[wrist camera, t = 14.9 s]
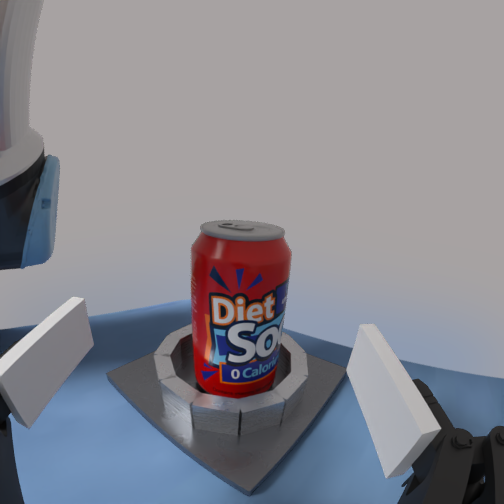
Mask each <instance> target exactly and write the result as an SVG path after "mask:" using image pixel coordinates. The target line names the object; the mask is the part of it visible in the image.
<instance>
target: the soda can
mask: <svg viewBox="0 0 504 504" xmlns="http://www.w3.org/2000/svg"><path fill="white" fill-rule="evenodd" d="M200 229H201V233H200V235H199V236H198V238H197V239H196V240H195V242H194V243H193V244H192V247H191V315H192V342H193V362H194V374H195V378H196V380H197V382H198V384H199V385H200V386H201V387H202V388H203V389H204V390H205V391H207V392H208V393H210V394H212V395H216V396H222V397H228V398H235V399H240V398H244V397H249V396H253V395H257V394H261V393H264V392H266V391H267V390H268V389H269V388H270V387H271V386H272V384H273V383H274V380H275V377H276V371H277V365H278V358H279V351H280V344H281V337H282V330H283V323H284V315H285V307H286V300H287V291H288V284H289V275H290V266H291V256H292V254H291V250H290V248H289V246H288V245H287V243H286V241H285V239H284V234H285V230H284V229H283V228H281V227H278V226H275V225H271V224H266V223H260V222H252V221H240V220H239V221H238V220H223V221H212V222H207V223H204V224H202V225H201V226H200Z"/></svg>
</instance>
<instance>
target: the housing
mask: <svg viewBox="0 0 504 504" xmlns="http://www.w3.org/2000/svg"><path fill="white" fill-rule="evenodd" d="M346 369H347V368H345V367H342V366H339V365H336V364H333V363H331V362H328V361H325V360H323V359H320V358H317V357H315V356H312V355H309V354H307V353H305V351H304V350H303V349H302V348H301V347H300V346H299V345H298V344H297V343H296V342H295V341H294V340H293V339H292V338H291V337H290V336H289V335H288V334H286V333H284V332H282V337H281V344H280V351H279V358H278V365H277V371H276V377H275V380H274V383H273V384H272V386H271V387H270V388H269V389H268V390H267V391H266V392H264V393H261V394H257V395H253V396H249V397H244V398H240V399H235V398H228V397H222V396H216V395H212V394H210V393H208V392H207V391H205V390H204V389H203V388H202V387H201V386H200V385H199V384H198V382H197V380H196V378H195V374H194V362H193V342H192V323H191V324H189V325H187V326H185V327H183V328H181V329H178V330H176V331H174V332H172V333H170V334H169V335H167V336H166V338H165V339H164V340H163V342H162V343H161V345H160V346H159V347H158V349H157V350H156V351H154V352H152V353H150V354H148V355H145V356H143V357H141V358H139V359H137V360H134V361H132V362H130V363H128V364H126V365H123V366H121V367H119V368H117V369H114V370H112V371H110V372H108V373H106V374H107V377H108V380H109V382H110V383H111V384H112V385H113V386H114V387H115V388H116V389H117V390H118V392H119V393H120V394H121V395H122V396H123V397H124V398H125V399H126V400H127V401H128V402H129V403H130V404H131V405H132V406H133V407H134V408H135V409H136V410H137V411H138V412H139V413H140V414H141V415H142V416H143V417H144V418H145V419H146V420H147V421H148V422H149V423H150V424H152V425H153V426H154V427H155V428H156V429H157V430H158V431H159V432H160V433H161V434H163V435H164V436H165V437H166V438H167V439H168V440H170V441H171V442H172V443H173V444H174V445H176V446H177V447H178V448H179V449H180V450H182V451H183V452H184V453H185V454H187V455H188V456H189V457H191V458H192V459H193V460H195V461H196V462H197V463H199V464H200V465H201V466H203V467H204V468H205V469H207V470H208V471H210V472H211V473H212V474H214V475H215V476H217V477H218V478H220V479H221V480H223V481H224V482H226V483H227V484H229V485H230V486H232V487H234V488H235V489H237V490H238V491H240V492H242V493H243V494H245V495H247V496H249V495H250V494H251V493H252V492H253V491H254V490H255V489H256V488H257V487H258V486H259V485H260V484H261V483H262V482H263V481H264V480H265V479H266V478H267V477H268V476H269V475H270V474H271V473H272V471H273V470H274V469H275V468H276V467H277V466H278V465H279V464H280V463H281V461H282V460H283V459H284V458H285V457H286V456H287V454H288V453H289V452H290V451H291V450H292V448H293V447H294V446H295V445H296V444H297V442H298V441H299V440H300V439H301V437H302V436H303V435H304V434H305V432H306V431H307V430H308V428H309V427H310V426H311V424H312V423H313V422H314V420H315V419H316V418H317V416H318V415H319V414H320V412H321V411H322V409H323V408H324V407H325V405H326V404H327V402H328V401H329V400H330V398H331V397H332V395H333V394H334V392H335V391H336V389H337V388H338V386H339V385H340V383H341V382H342V380H343V379H344V377H345V375H346V372H347V371H346Z"/></svg>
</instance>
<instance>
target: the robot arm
mask: <svg viewBox="0 0 504 504" xmlns="http://www.w3.org/2000/svg"><path fill="white" fill-rule="evenodd" d="M43 2H44V0H0V270H5V269H17V268H21V269H23V268H25V267H27V266H32V265H38V264H43V263H45V262H46V261H47V260H48V259H49V258H50V257H51V255H52V253H53V249H54V242H55V231H56V217H57V203H58V190H59V174H60V165H59V159H58V158H57V157H55V156H52V155H48V156H46V157H45V156H44V142H43V137H42V136H41V135H40V134H39V133H38V132H37V131H35V130H34V129H32V128H31V127H30V126H29V96H30V78H31V68H32V59H33V51H34V44H35V38H36V33H37V27H38V23H39V18H40V14H41V10H42V5H43ZM93 345H94V342H93V338H92V333H91V329H90V324H89V320H88V315H87V310H86V304H85V299H83V298H78V297H72V298H71V299H69V300H68V301H67V302H65V303H64V304H63V305H62V306H61V307H59V308H58V309H57V310H56V311H54V312H53V313H52V314H51V315H49V316H48V317H47V318H46V319H45V320H44V321H43V322H41V323H40V324H39V325H38V326H36V327H35V328H34V329H33V330H32V331H31V332H29V333H28V334H27V335H26V336H25V337H24V338H22V339H20V340H18V341H16V342H14V343H13V344H12V345H11V346H10V347H9V348H8V350H7V349H6V350H5V351H4V352H3V354H1V355H0V504H24V500H23V496H22V492H21V488H20V484H19V479H18V474H17V469H16V463H15V456H14V449H13V440H12V430H11V421H10V418H9V417H8V415H9V414H10V413H12V415H13V416H14V418H15V419H16V421H17V422H18V423H20V424H21V425H23V426H25V427H26V428H28V429H30V428H31V426H32V425H33V423H34V422H35V420H36V419H37V418H38V416H39V415H40V414H41V412H42V411H43V409H44V408H45V407H46V405H47V404H48V403H49V401H50V400H51V399H52V397H53V396H54V395H55V393H56V392H57V391H58V389H59V388H60V387H61V385H62V384H63V383H64V382H65V380H66V379H67V378H68V376H69V375H70V374H71V373H72V371H73V370H74V369H75V368H76V366H77V365H78V364H79V363H80V361H81V360H82V359H83V358H84V356H85V355H86V354H87V353H88V352H89V350H90V349H91V348H92V347H93ZM346 371H347V374H348V376H349V379H350V381H351V384H352V386H353V389H354V392H355V394H356V397H357V399H358V402H359V405H360V407H361V410H362V412H363V415H364V418H365V420H366V423H367V426H368V429H369V431H370V434H371V437H372V440H373V443H374V445H375V448H376V451H377V454H378V457H379V460H380V463H381V465H382V468H383V471H384V474H385V477H386V479H387V478H391V477H395V476H399V475H402V474H404V473H405V472H406V471H407V470H408V469H409V468H410V467H411V466H412V468H413V470H414V473H413V474H412V475H411V476H410V477H409V478H408V479H407V480H406V481H405V482H404V483H403V484H402V487H404V486H405V485H406V484H407V485H406V487H405V490H404V492H403V494H402V496H401V498H400V500H399V502H398V504H504V426H496V427H495V428H493V429H492V430H491V432H490V433H489V434H488V435H487V436H481V437H473V436H472V435H471V434H470V433H469V432H468V431H466V430H464V429H460V428H456V429H455V428H454V427H453V425H452V423H451V422H450V420H449V418H448V417H447V415H446V414H445V412H444V411H443V409H442V407H441V406H440V404H439V403H438V401H437V400H436V398H435V397H434V396H433V393H432V392H431V390H430V389H429V387H428V386H427V385H426V384H424V383H423V382H422V381H421V380H419V379H414V380H412V379H411V378H410V376H409V375H408V373H407V371H406V370H405V368H404V367H403V365H402V364H401V362H400V361H399V359H398V358H397V356H396V355H395V353H394V352H393V350H392V349H391V348H390V346H389V344H388V343H387V341H386V340H385V338H384V337H383V336H382V334H381V332H380V331H379V330H378V328H377V327H376V325H375V324H360V326H359V330H358V333H357V337H356V340H355V344H354V347H353V350H352V354H351V357H350V360H349V363H348V366H347V369H346ZM484 476H485V483H484V480H483V477H484Z"/></svg>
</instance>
